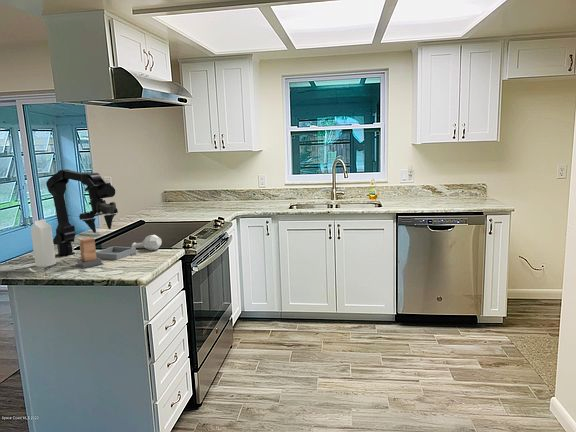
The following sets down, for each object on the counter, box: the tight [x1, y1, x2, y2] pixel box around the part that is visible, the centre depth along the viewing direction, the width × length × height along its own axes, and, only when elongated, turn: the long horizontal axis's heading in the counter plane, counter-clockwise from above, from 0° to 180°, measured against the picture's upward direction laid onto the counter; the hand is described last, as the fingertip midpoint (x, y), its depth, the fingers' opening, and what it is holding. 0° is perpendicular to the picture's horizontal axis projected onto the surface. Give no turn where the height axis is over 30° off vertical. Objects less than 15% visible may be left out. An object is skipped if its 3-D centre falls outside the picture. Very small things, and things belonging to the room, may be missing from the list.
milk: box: [30, 218, 57, 268], centre depth 200 cm, size 6×6×22 cm
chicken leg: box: [131, 234, 163, 251], centre depth 229 cm, size 8×18×8 cm, turn 70°
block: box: [78, 237, 97, 262], centre depth 198 cm, size 5×5×12 cm
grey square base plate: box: [74, 257, 105, 270], centre depth 199 cm, size 10×10×3 cm
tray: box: [96, 245, 137, 261], centre depth 215 cm, size 14×14×4 cm
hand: (102, 230), depth 210 cm, fingers open, 9 cm apart
